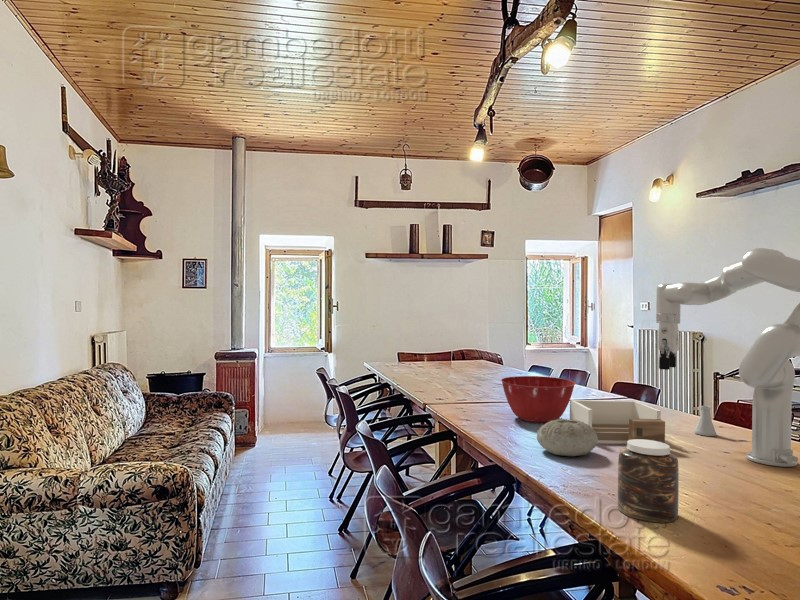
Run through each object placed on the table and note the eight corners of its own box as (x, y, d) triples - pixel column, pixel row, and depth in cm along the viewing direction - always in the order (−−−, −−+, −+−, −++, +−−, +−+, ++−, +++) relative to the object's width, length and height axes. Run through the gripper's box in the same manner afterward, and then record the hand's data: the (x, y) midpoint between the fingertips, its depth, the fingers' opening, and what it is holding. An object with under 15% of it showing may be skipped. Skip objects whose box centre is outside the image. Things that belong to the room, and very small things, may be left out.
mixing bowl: (542, 431, 192) (543, 388, 192) (485, 416, 215) (486, 378, 215) (589, 422, 209) (590, 382, 209) (531, 409, 232) (532, 374, 232)
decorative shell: (525, 447, 170) (526, 415, 170) (573, 444, 175) (574, 413, 175) (558, 463, 153) (559, 428, 153) (610, 459, 158) (611, 425, 158)
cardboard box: (665, 450, 169) (665, 421, 169) (634, 449, 169) (634, 421, 169) (659, 447, 173) (659, 419, 173) (628, 446, 173) (628, 418, 173)
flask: (711, 432, 195) (711, 405, 195) (721, 437, 188) (721, 408, 188) (690, 431, 196) (690, 404, 196) (699, 436, 189) (699, 407, 189)
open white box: (660, 444, 176) (660, 410, 177) (588, 443, 176) (588, 409, 176) (635, 431, 194) (635, 401, 195) (569, 430, 194) (570, 399, 194)
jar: (659, 502, 123) (660, 437, 123) (688, 523, 111) (689, 451, 111) (609, 502, 122) (610, 436, 123) (633, 523, 111) (634, 450, 111)
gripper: (674, 319, 178) (673, 371, 178) (685, 319, 191) (684, 367, 191) (650, 319, 183) (649, 369, 182) (662, 318, 196) (661, 365, 196)
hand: (667, 368), depth 187 cm, fingers open, 9 cm apart
